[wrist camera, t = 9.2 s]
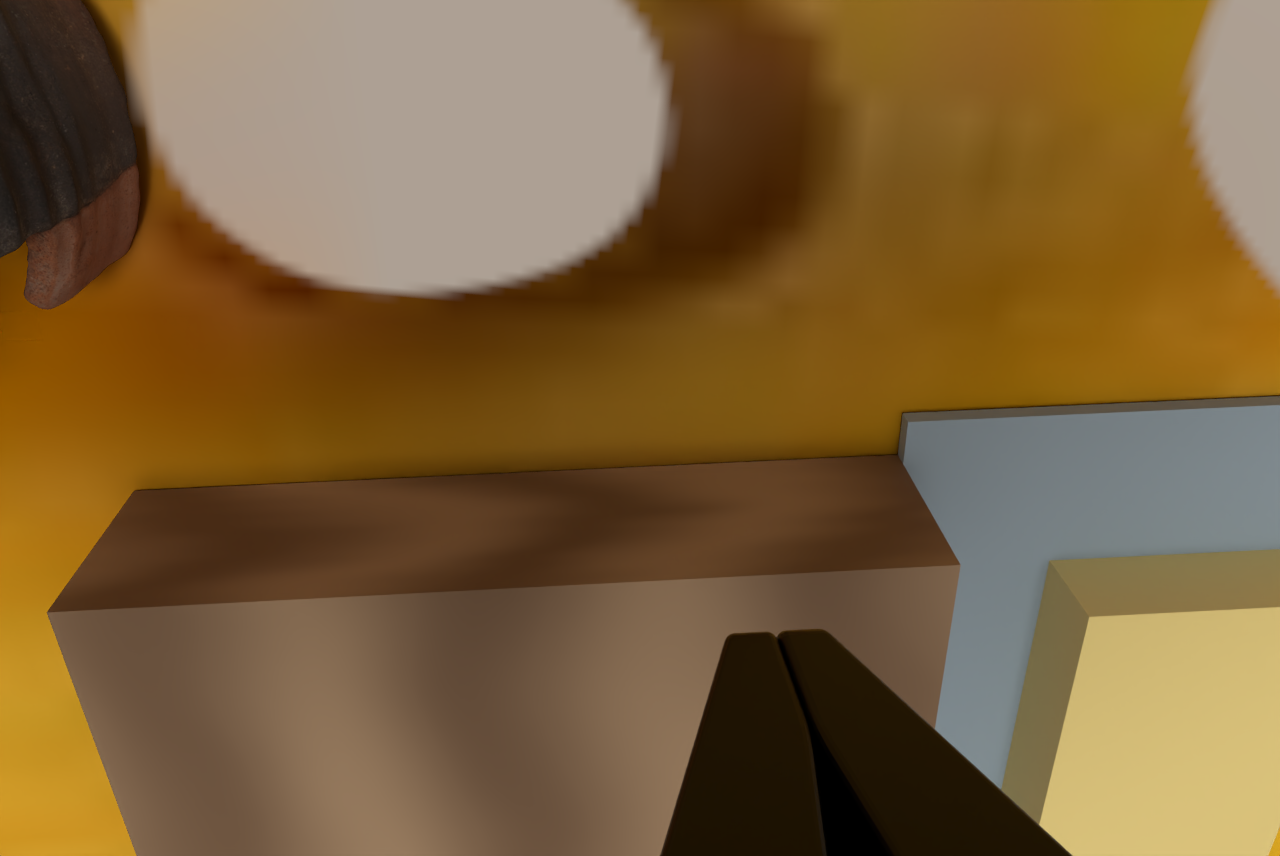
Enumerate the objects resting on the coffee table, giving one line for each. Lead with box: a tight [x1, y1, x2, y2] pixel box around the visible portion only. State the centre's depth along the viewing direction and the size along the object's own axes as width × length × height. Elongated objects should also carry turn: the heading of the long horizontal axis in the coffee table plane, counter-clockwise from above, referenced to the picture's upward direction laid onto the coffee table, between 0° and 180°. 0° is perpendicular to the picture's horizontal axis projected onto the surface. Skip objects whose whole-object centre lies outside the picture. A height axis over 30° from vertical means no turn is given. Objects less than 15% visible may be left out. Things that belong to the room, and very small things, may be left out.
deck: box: [47, 455, 961, 856], centre depth 23 cm, size 16×14×4 cm
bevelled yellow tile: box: [1001, 549, 1280, 856], centre depth 24 cm, size 6×9×2 cm, turn 1°
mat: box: [898, 396, 1280, 789], centre depth 25 cm, size 10×16×1 cm, turn 1°
